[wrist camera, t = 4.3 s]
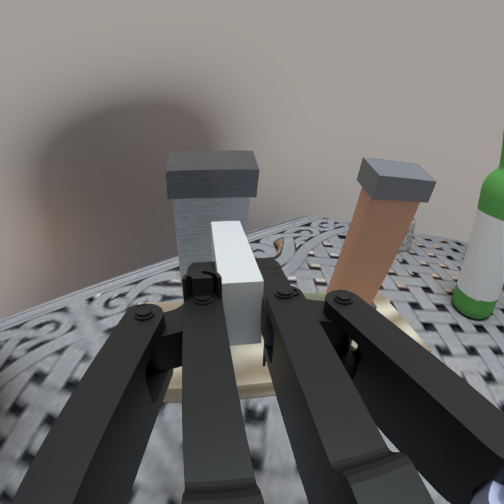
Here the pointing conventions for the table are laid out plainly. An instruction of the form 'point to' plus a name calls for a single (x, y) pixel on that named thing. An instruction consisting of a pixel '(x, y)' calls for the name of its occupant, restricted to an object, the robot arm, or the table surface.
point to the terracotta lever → (379, 224)
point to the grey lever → (208, 197)
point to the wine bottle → (484, 251)
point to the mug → (408, 238)
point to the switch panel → (251, 355)
